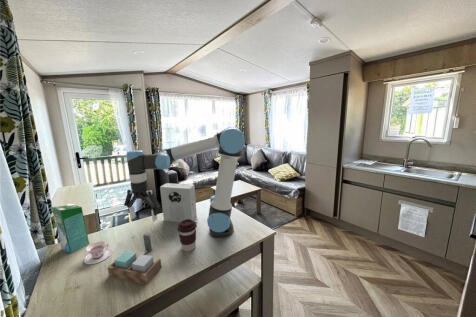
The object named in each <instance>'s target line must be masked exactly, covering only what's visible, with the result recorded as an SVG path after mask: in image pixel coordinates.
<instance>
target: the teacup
mask: <svg viewBox="0 0 476 317" xmlns="http://www.w3.org/2000/svg"><path fill="white" fill-rule="evenodd" d="M85 250H86V251H87V252H88V253H89V254H87V255H86V256H85V257H84V259H83V263H84V264H85V265H96V264H98V263H102V262H103V261H105V260H107V259H108V258H109V257H111V255H112V253H113V249H112V248H111V247H109V243H107V241H96V242H94V243H91V244H89V245H87V246H86V248H85Z"/></svg>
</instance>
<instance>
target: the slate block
mask: <svg viewBox="0 0 476 317" xmlns="http://www.w3.org/2000/svg"><path fill="white" fill-rule="evenodd" d="M140 255H141V254H140ZM140 255H139V256H140ZM139 256H138V257H139ZM154 263H155V262H154V257H153V256H151V255H147V254H144V255H141V256H140V257H139V258H138V259H137V260H136V261H134V262H133V263H132V268H133V271H136V272H140V273H146V272H147V271H148V269H149V268H150V267H151V266H152V265H153V264H154Z"/></svg>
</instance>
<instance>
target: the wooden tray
mask: <svg viewBox="0 0 476 317" xmlns="http://www.w3.org/2000/svg"><path fill="white" fill-rule="evenodd" d="M161 260H162V259H161V258H158V259H157V260H155V262H154V264H153V265H152V266H151V267H150V268H149V269H148V271H147V272H146V273H140V272H136V271H133V268H132V265H131V266H130V267H129V268H128V269H122V268H118V267H116V266H115V261H113V262H112V263H111V264H109V265H108V266H107V272H108V276H109V277H113V278H116V279H120V280H121V279H122V280H125V281H130V282H134V283H138V284H140V285H141V284H142V285H148V284H149V283H150V282H151V281H152V279H153V278H154V277H155V275H156V274H157V273H158V272H159V271H160V270H161V268H162V262H161Z"/></svg>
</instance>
